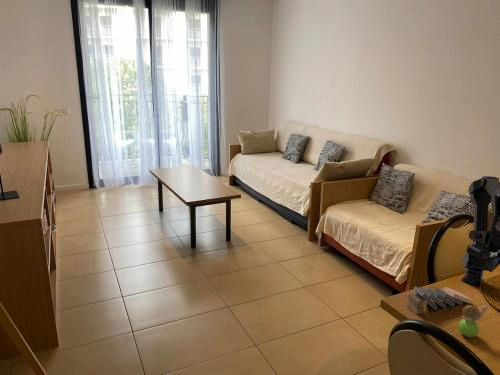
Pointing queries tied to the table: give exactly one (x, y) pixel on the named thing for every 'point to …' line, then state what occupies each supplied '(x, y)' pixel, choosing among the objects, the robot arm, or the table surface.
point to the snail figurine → (471, 320)
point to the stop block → (416, 303)
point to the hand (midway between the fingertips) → (489, 271)
